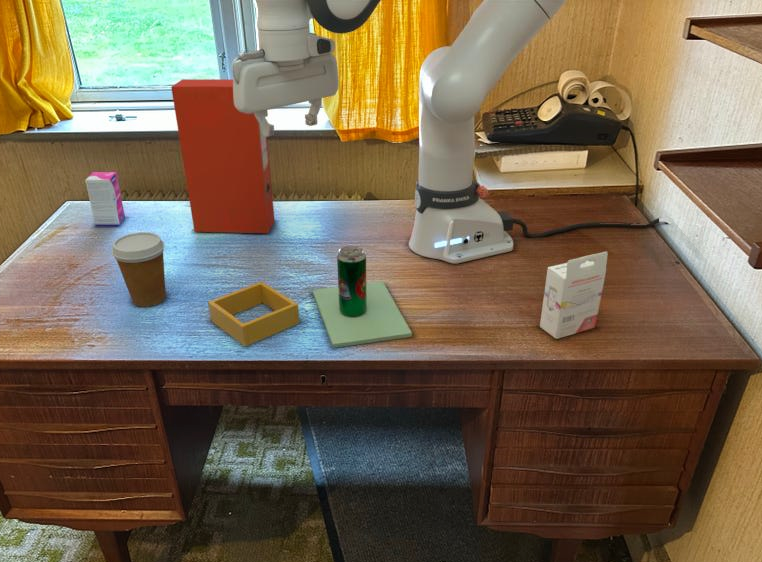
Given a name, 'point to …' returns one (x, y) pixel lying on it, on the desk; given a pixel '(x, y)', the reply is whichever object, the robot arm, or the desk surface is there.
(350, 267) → the soda can
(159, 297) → the disposable coffee cup
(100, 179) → the supplement box
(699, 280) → the desk surface
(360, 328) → the green mat
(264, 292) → the frame
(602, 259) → the ink cartridge box
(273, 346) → the desk surface
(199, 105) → the file binder
